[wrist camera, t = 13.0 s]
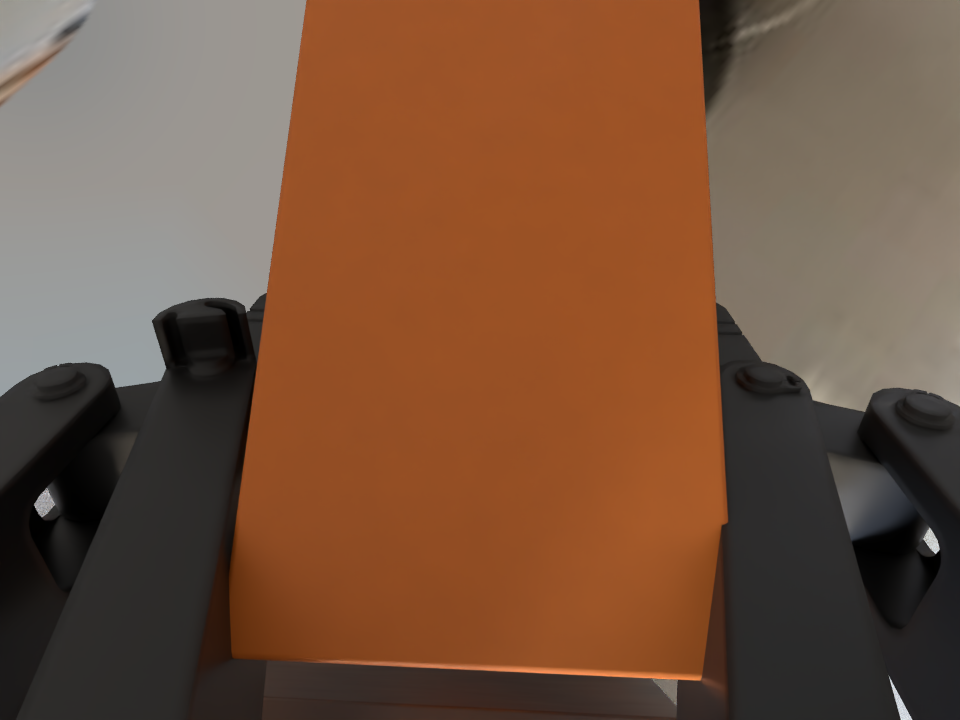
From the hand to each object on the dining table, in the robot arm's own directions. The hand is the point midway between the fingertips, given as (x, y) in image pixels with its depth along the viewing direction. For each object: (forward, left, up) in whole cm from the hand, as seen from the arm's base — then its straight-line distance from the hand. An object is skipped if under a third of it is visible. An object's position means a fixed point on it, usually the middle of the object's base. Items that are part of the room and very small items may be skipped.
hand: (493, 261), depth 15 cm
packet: (0, -4, -7) cm, 8 cm away
